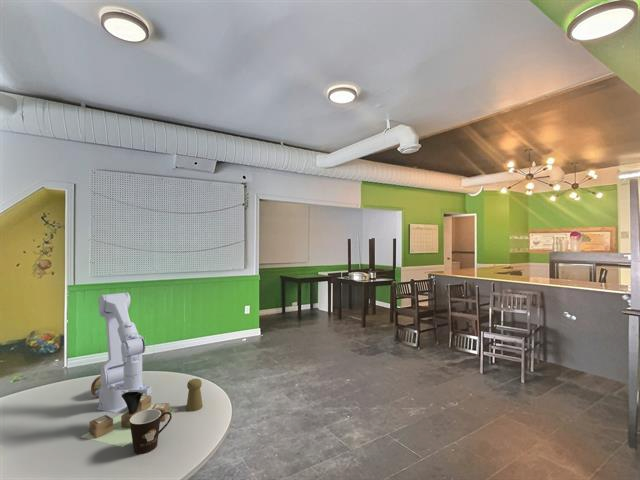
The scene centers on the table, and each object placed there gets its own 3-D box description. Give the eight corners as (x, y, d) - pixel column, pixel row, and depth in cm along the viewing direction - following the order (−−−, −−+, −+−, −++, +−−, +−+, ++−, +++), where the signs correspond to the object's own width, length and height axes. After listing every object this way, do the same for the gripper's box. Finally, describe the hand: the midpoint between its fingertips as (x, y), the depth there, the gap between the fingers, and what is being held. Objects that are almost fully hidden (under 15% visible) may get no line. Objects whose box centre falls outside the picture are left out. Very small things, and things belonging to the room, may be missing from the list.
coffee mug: (127, 461, 95) (127, 426, 95) (131, 444, 103) (131, 412, 103) (171, 450, 100) (171, 418, 100) (171, 435, 108) (171, 405, 108)
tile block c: (130, 411, 122) (130, 400, 122) (140, 405, 127) (140, 394, 127) (141, 412, 121) (141, 401, 121) (151, 406, 126) (151, 395, 126)
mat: (80, 438, 106) (80, 436, 106) (141, 403, 129) (141, 402, 129) (122, 448, 101) (122, 447, 101) (178, 410, 124) (178, 409, 124)
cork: (197, 413, 121) (197, 383, 122) (182, 411, 123) (182, 382, 123) (205, 405, 127) (205, 377, 128) (192, 403, 129) (192, 376, 129)
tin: (94, 400, 132) (94, 379, 132) (89, 399, 133) (89, 378, 133) (129, 385, 145) (129, 367, 145) (125, 384, 147) (125, 365, 147)
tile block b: (149, 422, 115) (149, 410, 115) (155, 414, 120) (155, 403, 120) (164, 421, 115) (164, 409, 116) (169, 413, 120) (169, 402, 120)
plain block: (121, 427, 112) (121, 415, 112) (131, 419, 117) (131, 408, 117) (134, 428, 111) (134, 416, 111) (144, 420, 116) (144, 409, 116)
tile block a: (89, 433, 108) (89, 420, 108) (105, 426, 112) (105, 414, 112) (96, 438, 105) (96, 425, 105) (113, 430, 110) (113, 418, 110)
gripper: (106, 375, 112) (106, 414, 112) (139, 380, 108) (139, 421, 108) (124, 367, 119) (124, 405, 119) (156, 372, 115) (156, 410, 114)
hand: (133, 412), depth 114 cm, fingers closed
